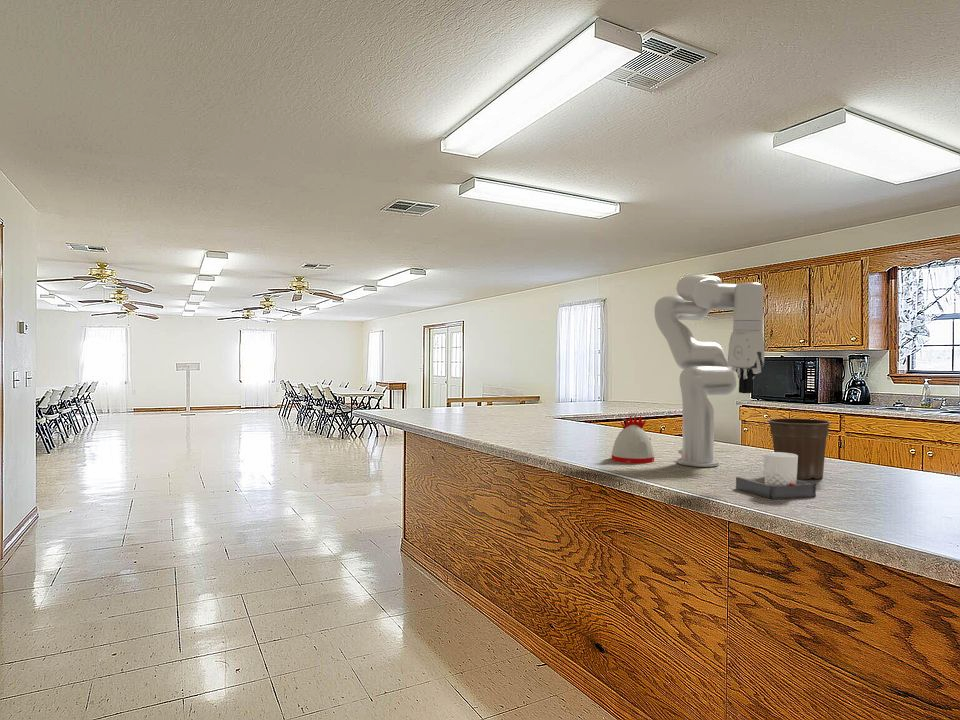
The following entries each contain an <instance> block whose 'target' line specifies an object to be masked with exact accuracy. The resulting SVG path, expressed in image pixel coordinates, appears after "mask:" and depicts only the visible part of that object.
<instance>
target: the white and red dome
mask: <svg viewBox="0 0 960 720" xmlns="http://www.w3.org/2000/svg"><path fill="white" fill-rule="evenodd" d="M624 420H625V425H624V423H623V422H622V421H620V424H621V426H622V428H623V429H621V431H619V433H618V435H617V436H616V438H615V440H614V443H613V446H612V451H611V460H612V461H614V462H617V463H622V464H623V463H624V464H649V463H651V464H652V463H654V462H655V451H654V447H653V444H652V442H651V441H652V439H651V437H649V435H648V434H647V433H646V431H645V430H644V429H643V428H644V426H645V425H646V421H647V420H646V419H644V420H643V418H642V415H640V416H639V419H638V418H637V416H636V415H634V417H633V416H632V415H629V420H628V419H627V418H625V419H624Z"/></svg>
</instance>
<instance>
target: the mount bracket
mask: <svg viewBox="0 0 960 720" xmlns="http://www.w3.org/2000/svg"><path fill="white" fill-rule="evenodd" d="M816 487H817V484H816V483H812V482H809V481H808V482H807V481H804V480H802V479H797V481H796V484H795V483H790V485H781V486H771V485H767V484H765V483H762V482H759V481H756V480H751V479H748V478H745V477H742V476H741V477H740V476H736V477H735V489H737V490H740V491H743V492H745V493H749V494H753V495H756V496H760V497H763V498H766V499H769V500H783V499H797V498H809V497H811V498H812V497H816V496H817V490H816V489H817V488H816Z"/></svg>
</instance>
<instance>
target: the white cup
mask: <svg viewBox="0 0 960 720" xmlns="http://www.w3.org/2000/svg"><path fill="white" fill-rule="evenodd" d="M762 457H763V459H762V460H763V474H764V475H763V477H764V484H767V485H771V486H781V485H790V483H795V484H796V481H797V480H798V479H797V466H798V455H796V454H791V453H783V452H774V451H769V452H768V451H767V452H763V455H762Z"/></svg>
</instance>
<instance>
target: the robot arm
mask: <svg viewBox="0 0 960 720" xmlns="http://www.w3.org/2000/svg"><path fill="white" fill-rule="evenodd" d="M676 293H677V294H678V295H674V294H673V295H666V296H662V297H660V298H659V299H657V301H656V302H655V305H654V319H655V323H656V325H657V328H658V330H659V331H660V333H661V334H662V335H663V336H664V339H665V340H666V341H667V342H666V343H667V344H668V347H669V349H670V351H671V353H672V357H673V359H674V361H675V363H676V364H677V367H678V368H680V369H682V371H680V375H679V387H680V392H681V399H682V400H681V401H682V447H681V449H678V450H677V452H678V454H680V455H681V457H679V458H677V464H679V465H682V466H686V467H687V466H689V467H696V468H697V467H698V468H699V467H700V468H711V467H717V466H719V465H720V461H719V460H717V459H714V457H715V455H714V453H715V451H714V450H715V449H714V447H715V446H714V445H715V443H714V442H715V438H714V437H715V432H714V431H715V430H714V429H715V411H714V407H713V405H712V403H711V401H710V399H709V398H708V396H726V395H730V394H732V393H733V392H734V391H735V390H736V389H737V378H738V393H740V394H752V393H753V385H754V383H753V381H754V379H755V376H756V374H757V375H758V374H761V373H762V368H763V367H764V364H765V341H764V340H765V339H764V333H763V316H764V314H763V311H764V285H763V284H762V283H759V282H741V283H723V281H722V279H721V278H720V277H718V276H715V275H711V274H710V275H706V274H705V275H703V274H688V275H685V276H683V277H682V278H680V279H679V280H678V281H677V284H676ZM711 310H713V311H714V310H715V311H716V310H718V311H719V310H720V311H721V310H723V311H727V310H728V311H729V310H730V311H733V313H732V314H733V317H732V319H733V320H732V323H733V324H732V332H731V333H730V337H729V343H728V350H727V351H728V353H727V355H726V353H725V350H724V349H723V347H722V346H721V345H720V344H719V343H717V342H714V341H698V340H696V338H695V337H694V335H693V333H692V331H691V330H690V328H689V327H688V326H687V325H686V324H684V323H683V322H682V321H700V320H703V319H704V318H706V316H707V315H709V313H710V312H711ZM735 373H736V374H737V377H736V374H735Z"/></svg>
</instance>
